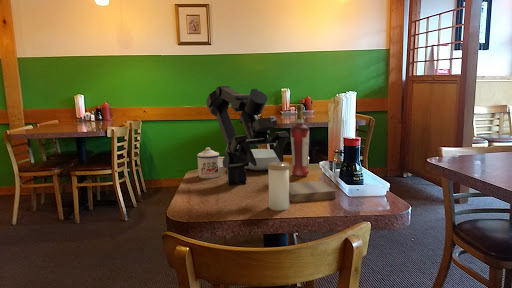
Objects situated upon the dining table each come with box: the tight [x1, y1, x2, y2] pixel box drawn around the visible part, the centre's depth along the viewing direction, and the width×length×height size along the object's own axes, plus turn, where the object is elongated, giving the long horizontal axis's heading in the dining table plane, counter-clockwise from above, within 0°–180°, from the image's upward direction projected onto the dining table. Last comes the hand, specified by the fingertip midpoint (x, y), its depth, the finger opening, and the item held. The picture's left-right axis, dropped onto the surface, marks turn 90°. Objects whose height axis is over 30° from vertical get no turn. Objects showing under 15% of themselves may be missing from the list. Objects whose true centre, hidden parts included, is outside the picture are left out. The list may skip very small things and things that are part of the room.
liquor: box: [290, 104, 310, 178], centre depth 144 cm, size 7×7×28 cm
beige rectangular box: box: [289, 180, 336, 203], centre depth 121 cm, size 14×13×2 cm
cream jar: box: [267, 161, 290, 212], centre depth 109 cm, size 6×6×13 cm
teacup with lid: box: [196, 147, 226, 179], centre depth 150 cm, size 12×9×12 cm
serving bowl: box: [245, 148, 280, 171], centre depth 161 cm, size 21×21×7 cm
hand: (269, 163), depth 113 cm, fingers open, 9 cm apart
